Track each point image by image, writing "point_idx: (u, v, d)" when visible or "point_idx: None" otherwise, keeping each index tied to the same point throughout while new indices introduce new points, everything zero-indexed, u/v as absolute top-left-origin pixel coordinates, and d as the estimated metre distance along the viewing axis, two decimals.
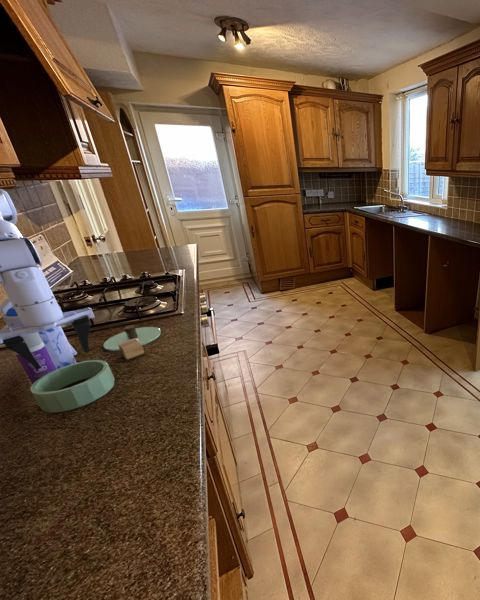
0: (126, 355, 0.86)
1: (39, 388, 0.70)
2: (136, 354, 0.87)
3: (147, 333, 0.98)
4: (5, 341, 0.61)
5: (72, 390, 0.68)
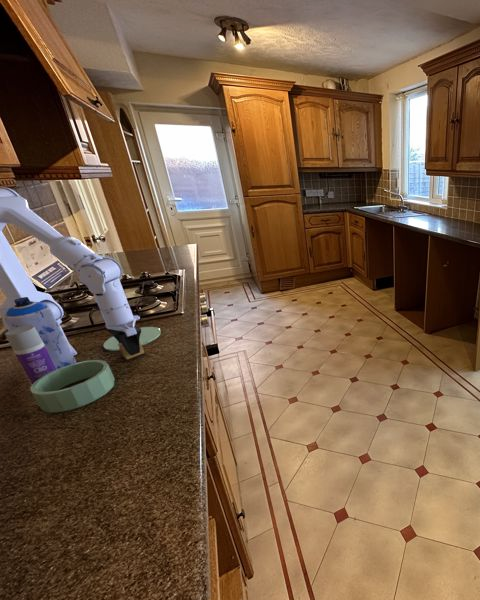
0: (126, 355, 0.86)
1: (39, 388, 0.70)
2: (136, 354, 0.87)
3: (147, 333, 0.98)
4: None
5: (72, 390, 0.68)
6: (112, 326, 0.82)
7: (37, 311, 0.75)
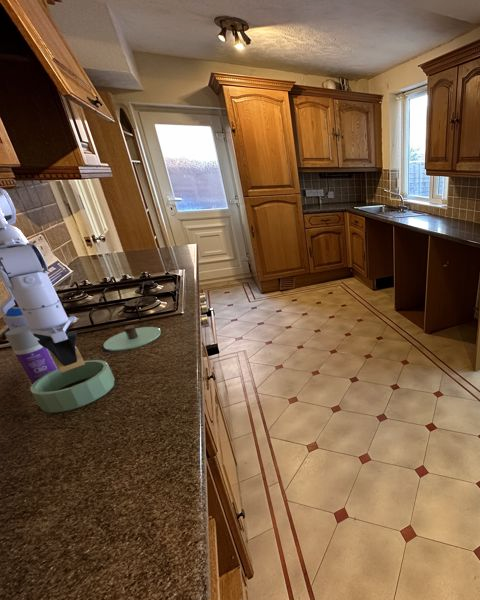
0: (58, 365, 0.69)
1: (39, 388, 0.70)
2: (72, 364, 0.71)
3: (147, 333, 0.98)
4: None
5: (72, 390, 0.68)
6: (37, 330, 0.65)
7: None
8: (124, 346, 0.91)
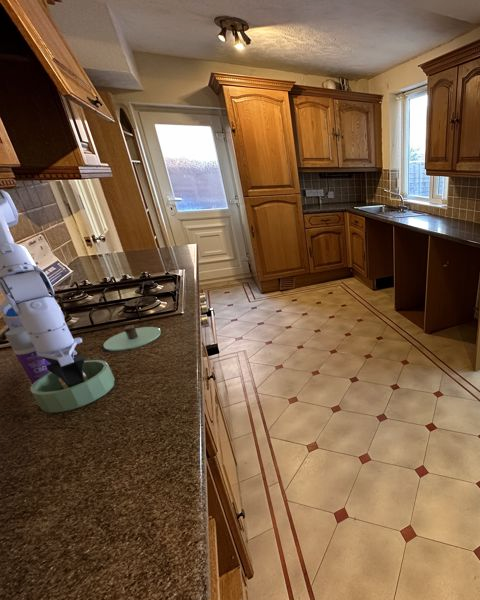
0: None
1: (39, 388, 0.70)
2: None
3: (147, 333, 0.98)
4: None
5: (72, 390, 0.68)
6: (43, 353, 0.66)
7: None
8: (124, 346, 0.91)
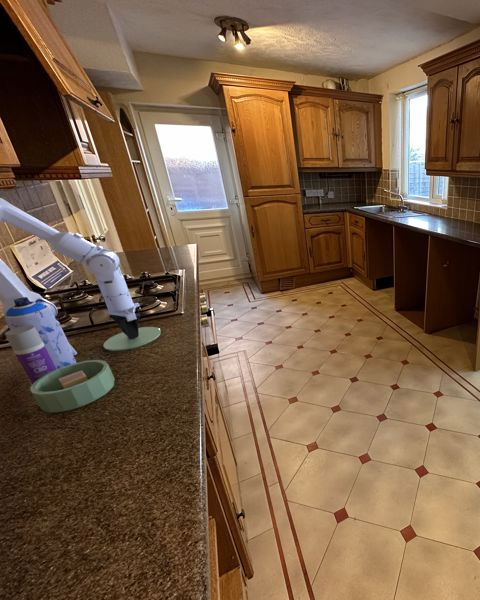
0: None
1: (39, 388, 0.70)
2: None
3: (147, 333, 0.98)
4: None
5: (72, 390, 0.68)
6: (114, 312, 0.89)
7: (37, 311, 0.75)
8: (124, 346, 0.91)
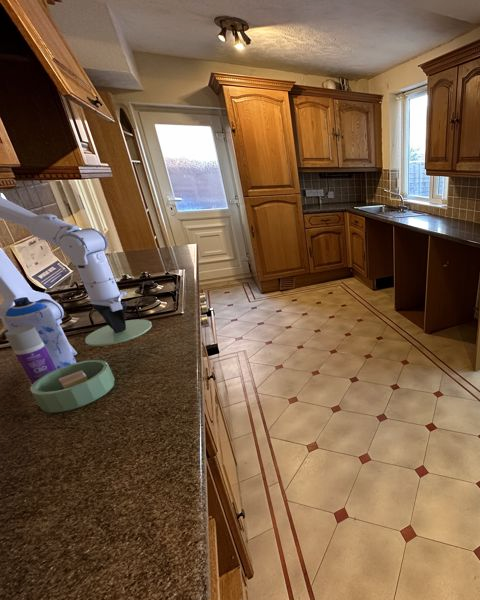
0: None
1: (39, 388, 0.70)
2: None
3: (136, 326, 0.86)
4: None
5: (72, 390, 0.68)
6: (96, 301, 0.77)
7: (37, 311, 0.75)
8: (109, 340, 0.79)
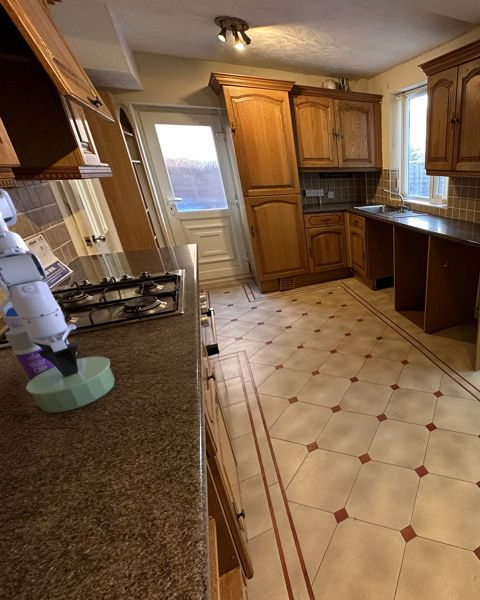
0: None
1: None
2: None
3: (91, 366, 0.74)
4: None
5: (72, 390, 0.68)
6: (36, 339, 0.65)
7: None
8: (54, 388, 0.67)
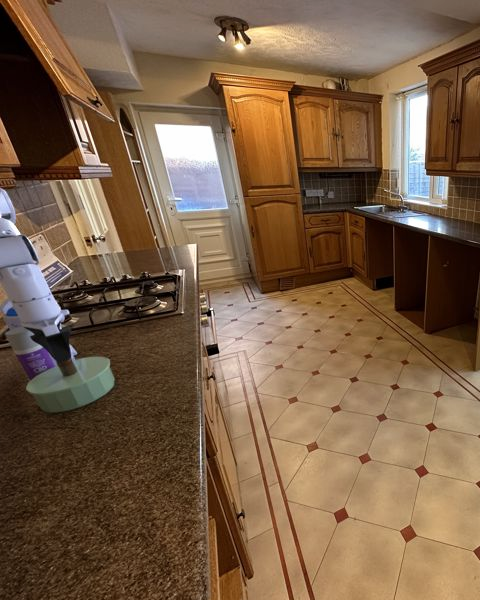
0: None
1: None
2: None
3: (91, 366, 0.74)
4: None
5: (72, 390, 0.68)
6: (27, 323, 0.64)
7: None
8: (54, 388, 0.67)
